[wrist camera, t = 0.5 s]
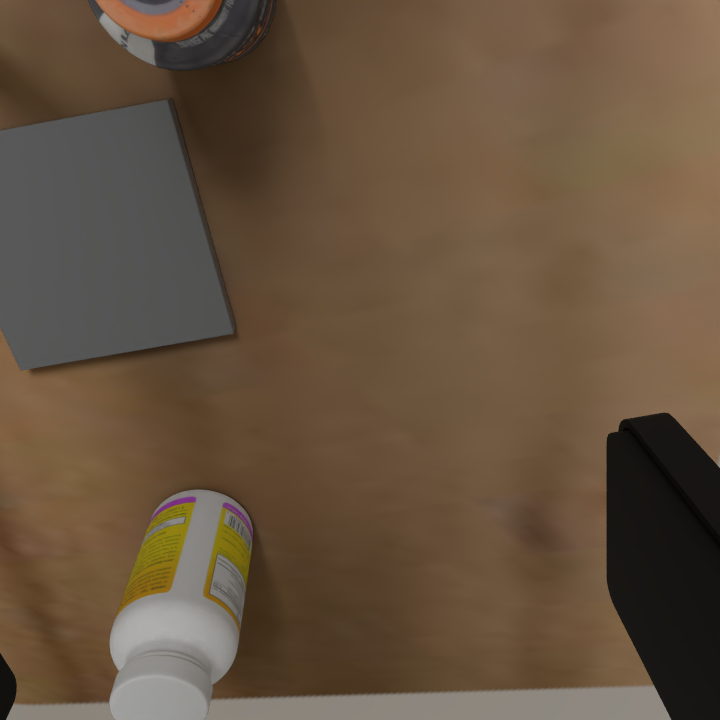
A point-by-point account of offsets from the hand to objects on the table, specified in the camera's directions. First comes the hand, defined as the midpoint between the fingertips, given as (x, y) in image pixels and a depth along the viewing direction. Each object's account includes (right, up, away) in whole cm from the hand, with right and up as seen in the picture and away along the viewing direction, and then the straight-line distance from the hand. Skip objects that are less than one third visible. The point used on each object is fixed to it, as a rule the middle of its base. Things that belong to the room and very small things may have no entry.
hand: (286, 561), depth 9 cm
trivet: (-13, +9, +24) cm, 29 cm away
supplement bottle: (-9, -8, +33) cm, 35 cm away
